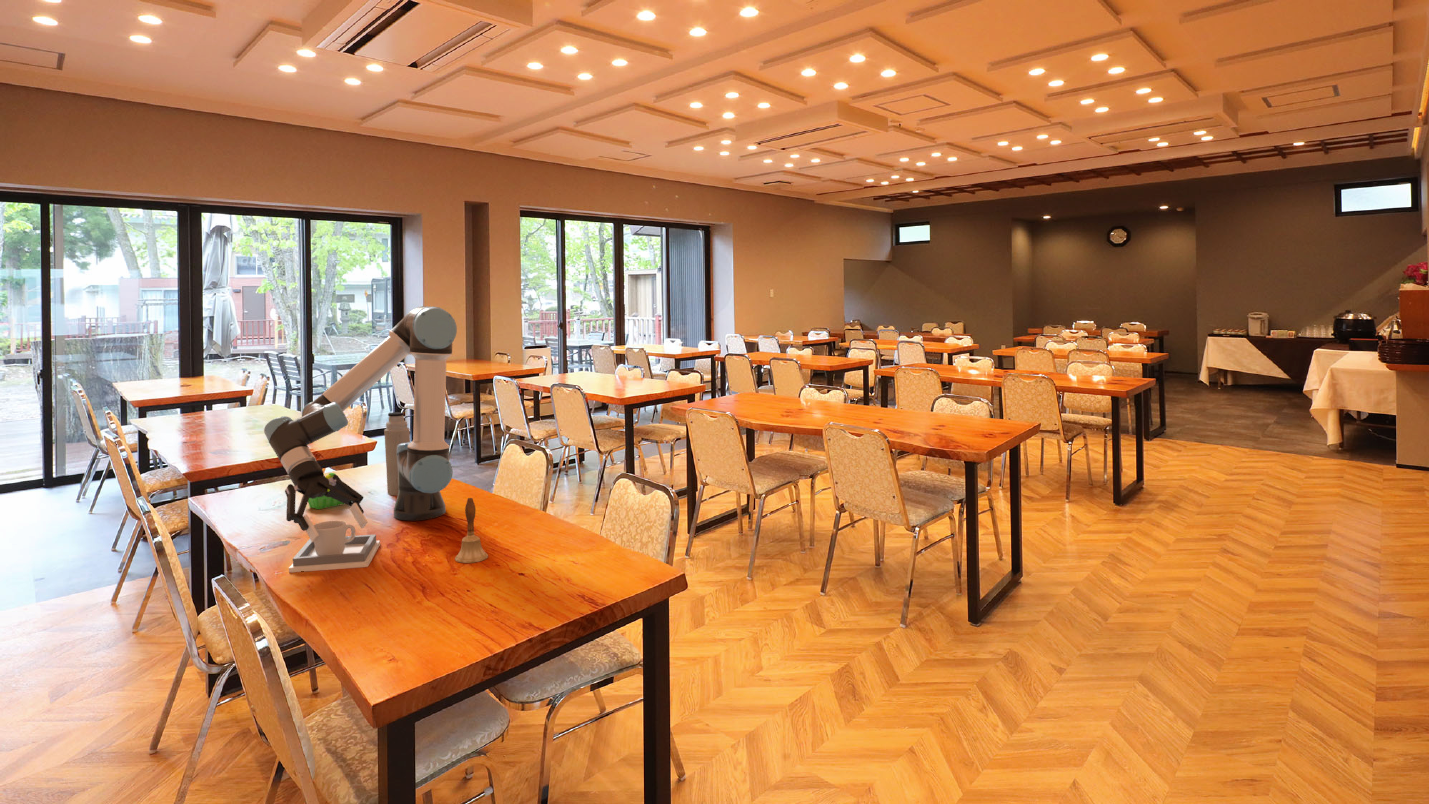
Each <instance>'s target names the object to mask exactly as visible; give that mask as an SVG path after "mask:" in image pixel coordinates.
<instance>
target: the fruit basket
mask: <svg viewBox="0 0 1429 804" xmlns="http://www.w3.org/2000/svg"><path fill="white" fill-rule="evenodd" d="M334 475H337V474H336V473H335V472H328V474H327V475H325V477H326V478H327V479H329V478H332V477H333V476H334ZM330 485H331V484H330ZM329 491H330V490H329V489H328V490H327V492H329ZM307 504H308V506H309V508H312V509H314V508H315V509H316V510H323V509H327V508H326V507H328V508H331V507H330V506H332V507H337V506H341V505H340V504H342V505H345V504H344V503H342V502H340V501H338V500H336V499H333V498H331V497H326V496H323V497H316V498H314V499H312V498H309V500H308V503H307Z"/></svg>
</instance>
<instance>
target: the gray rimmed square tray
mask: <svg viewBox="0 0 1429 804" xmlns="http://www.w3.org/2000/svg"><path fill="white" fill-rule="evenodd" d="M350 536H351V535H346V539H348V538H350ZM380 545H381V540H379V539H378V540H377V534H375V533H374V534H364V535H363V534H361V535H355V538H354V539H353V540H352V541H351V542H348V543H345V549H344V552H343V553H342V554H333V555H319V556H318V555H317V554H316V551H315V545H314V542H312V541H311V539H310V538H309V539H308V540H307V541H306V542H305V544H304V545H303V546H302V548H300V549H299V551H298V552H297V553H296V554H295V555H294V556H293V558H292V564H291V565H290V566H289V567H288V573H302V572H301V571H304V572H315V571H330V570H342V569H357V568H368V567H369V565H370V563H371V562H372V560H373V559H374V556H375V555H376V553H377V551H378V549H379V548H380Z"/></svg>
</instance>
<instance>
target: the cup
mask: <svg viewBox="0 0 1429 804" xmlns="http://www.w3.org/2000/svg"><path fill="white" fill-rule="evenodd" d="M313 526H314V527H315V529H316V531H317V533H318V534H319V536H318V538H317V539H316V541H315V542H314V545H315V551H316V554H317V555H318V556H319V555H333V554H342V553H343V552H344V549H345V543H348V542H351V541H352V540H353V539H354V538H355V536H356V534H357V533H356V527H355V526H354V525H353V524H349V523H347V522H344V521H342V520H327V521H322V522H318V523H315V524H313ZM348 529H350V535H349V536H350V538H348V539H346V536H347V535H346V533H347V531H348Z"/></svg>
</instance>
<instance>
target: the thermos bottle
mask: <svg viewBox="0 0 1429 804" xmlns="http://www.w3.org/2000/svg"><path fill="white" fill-rule="evenodd" d="M387 414H388V421H387V422H386V423H385V426H386V428H385V429H384V430H383V432H384V449H385V450H384V451H385V452H384V453H385V465H386V487H387V494H388V496H389V495H390V496H398V493H399V483H398V464H397V455H396V453H397V446H398V445H399V444H401V443H408V442H411V436H410V435H411V434H410V433H411V432H410V428H409V427H408V422H407V421H406V420H405V417H404V414H405V413H404V412H401V411H398V412H396V411H395V412H394V411H393V412H389V413H387Z"/></svg>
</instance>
